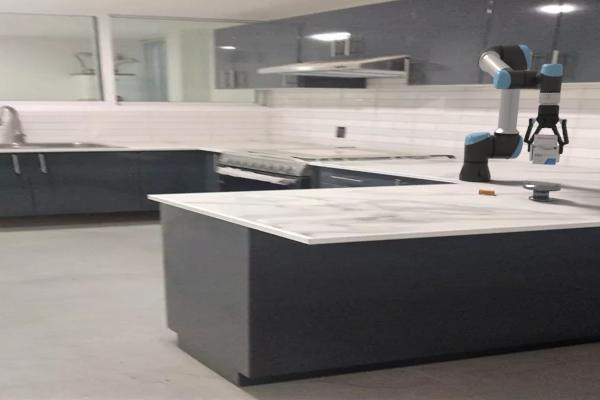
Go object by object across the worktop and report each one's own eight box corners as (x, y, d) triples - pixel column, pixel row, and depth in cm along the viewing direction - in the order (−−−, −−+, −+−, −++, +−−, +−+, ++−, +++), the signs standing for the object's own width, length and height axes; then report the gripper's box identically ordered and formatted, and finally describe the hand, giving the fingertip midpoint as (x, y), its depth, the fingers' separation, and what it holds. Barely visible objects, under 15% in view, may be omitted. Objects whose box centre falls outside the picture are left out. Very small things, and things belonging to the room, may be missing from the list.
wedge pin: (478, 194, 228) (478, 190, 228) (479, 194, 230) (480, 189, 230) (493, 196, 225) (493, 191, 225) (494, 195, 227) (494, 190, 227)
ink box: (555, 163, 215) (558, 134, 212) (555, 165, 210) (558, 135, 208) (532, 162, 218) (534, 133, 216) (531, 164, 214) (534, 134, 211)
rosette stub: (517, 199, 216) (518, 182, 215) (527, 194, 227) (529, 178, 225) (554, 204, 207) (556, 186, 206) (563, 198, 218) (565, 181, 217)
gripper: (517, 104, 214) (513, 160, 218) (577, 104, 200) (571, 164, 204) (523, 104, 219) (518, 158, 224) (581, 104, 206) (576, 162, 210)
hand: (544, 161), depth 214 cm, fingers closed on ink box, 9 cm apart
